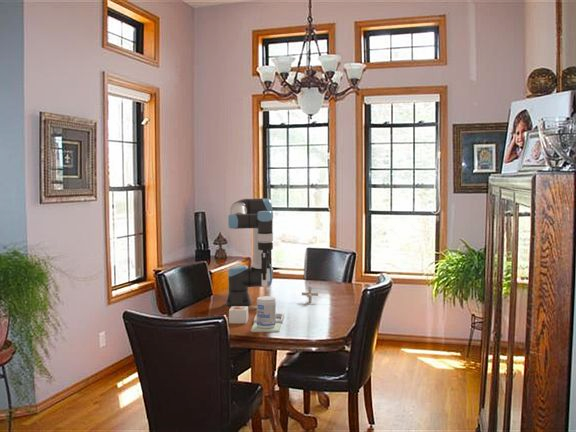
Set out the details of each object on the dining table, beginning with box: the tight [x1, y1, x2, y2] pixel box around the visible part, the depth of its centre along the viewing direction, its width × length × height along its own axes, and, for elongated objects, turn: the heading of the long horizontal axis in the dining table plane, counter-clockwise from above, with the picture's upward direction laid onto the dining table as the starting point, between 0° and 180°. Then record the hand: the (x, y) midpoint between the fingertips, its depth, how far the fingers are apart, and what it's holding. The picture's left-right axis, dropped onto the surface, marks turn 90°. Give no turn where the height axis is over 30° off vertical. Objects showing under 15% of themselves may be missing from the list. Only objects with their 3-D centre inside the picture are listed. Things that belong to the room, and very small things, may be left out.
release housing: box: [228, 306, 249, 324], centre depth 304 cm, size 9×9×7 cm
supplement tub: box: [256, 295, 277, 329], centre depth 289 cm, size 10×10×15 cm
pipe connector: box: [301, 285, 319, 304], centre depth 349 cm, size 10×10×10 cm
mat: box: [250, 322, 282, 333], centre depth 289 cm, size 14×14×1 cm
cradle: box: [253, 312, 285, 325], centre depth 305 cm, size 15×15×2 cm
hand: (265, 283), depth 288 cm, fingers open, 13 cm apart
